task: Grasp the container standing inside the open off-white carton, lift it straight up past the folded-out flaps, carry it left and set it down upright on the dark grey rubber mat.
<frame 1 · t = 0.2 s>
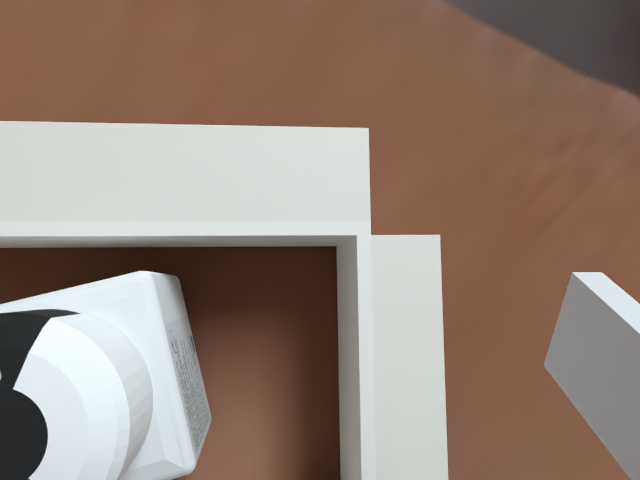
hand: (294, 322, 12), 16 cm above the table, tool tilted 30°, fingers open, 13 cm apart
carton: (118, 368, 27), on the table
container: (120, 367, 27), resting in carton
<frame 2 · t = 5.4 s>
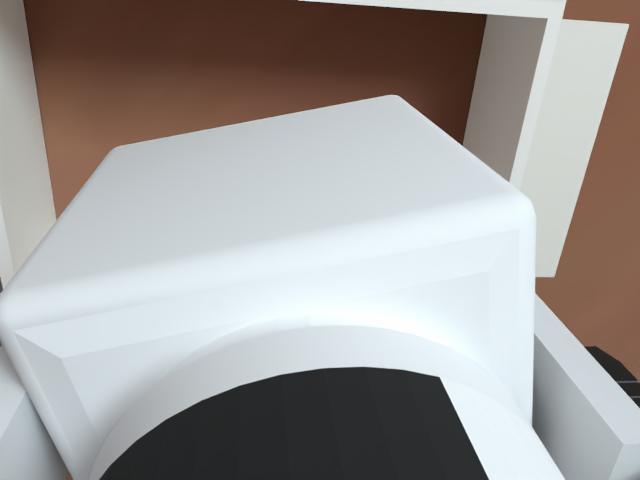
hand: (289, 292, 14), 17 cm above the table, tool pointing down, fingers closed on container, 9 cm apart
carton: (264, 118, 28), on the table
container: (283, 244, 16), point 14 cm above the table, touching gripper
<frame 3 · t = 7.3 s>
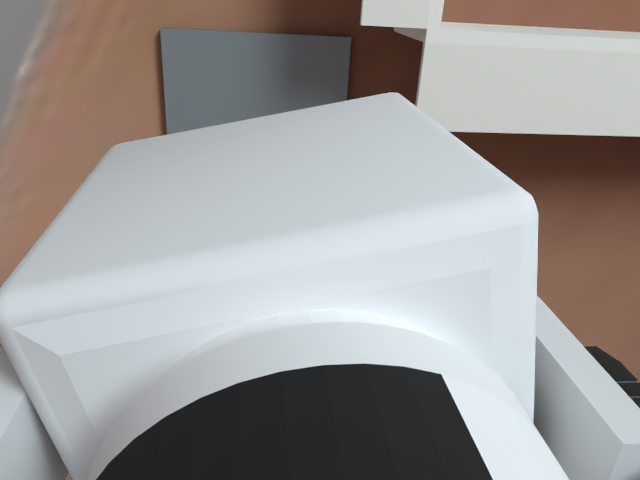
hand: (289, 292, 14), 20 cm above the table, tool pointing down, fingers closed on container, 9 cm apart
mat: (257, 125, 31), on the table
container: (283, 243, 16), point 17 cm above the table, touching gripper
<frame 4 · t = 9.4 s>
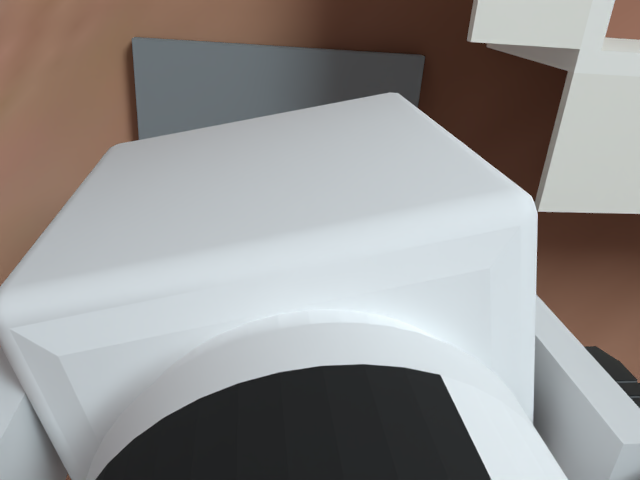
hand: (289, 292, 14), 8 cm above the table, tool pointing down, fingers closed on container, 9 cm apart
mat: (277, 181, 21), on the table
container: (282, 243, 16), point 6 cm above the table, touching gripper
when the fingers open (4 cm above the table, at t = 11.1 s): container drops 1 cm, resting on mat.
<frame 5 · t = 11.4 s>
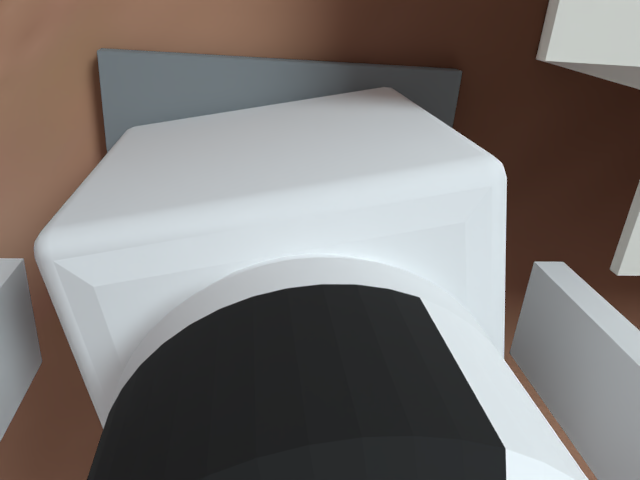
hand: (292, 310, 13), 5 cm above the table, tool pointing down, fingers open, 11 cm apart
mat: (280, 221, 18), on the table
container: (282, 225, 17), resting on mat
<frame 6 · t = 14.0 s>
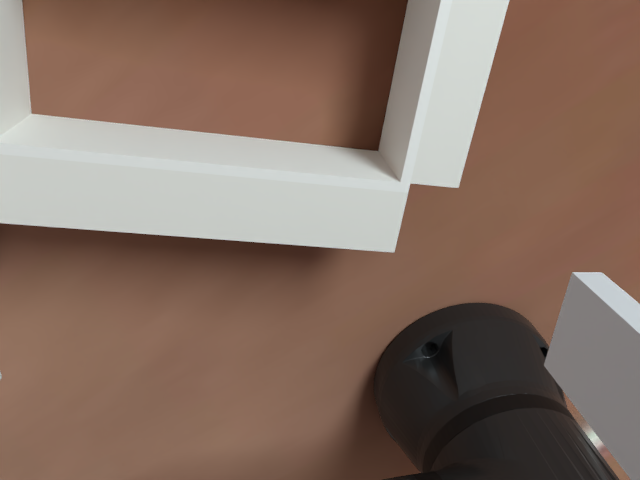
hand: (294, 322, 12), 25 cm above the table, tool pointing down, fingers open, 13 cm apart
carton: (220, 35, 33), on the table
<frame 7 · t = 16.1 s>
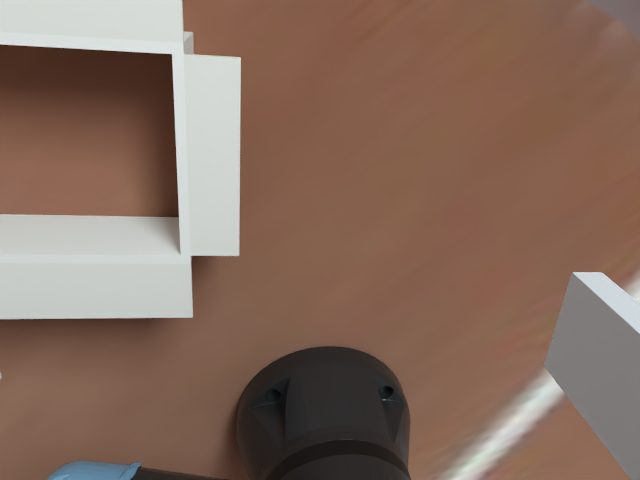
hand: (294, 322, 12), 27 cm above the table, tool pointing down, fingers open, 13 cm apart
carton: (12, 129, 35), on the table
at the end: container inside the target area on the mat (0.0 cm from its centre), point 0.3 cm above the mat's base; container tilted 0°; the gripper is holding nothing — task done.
